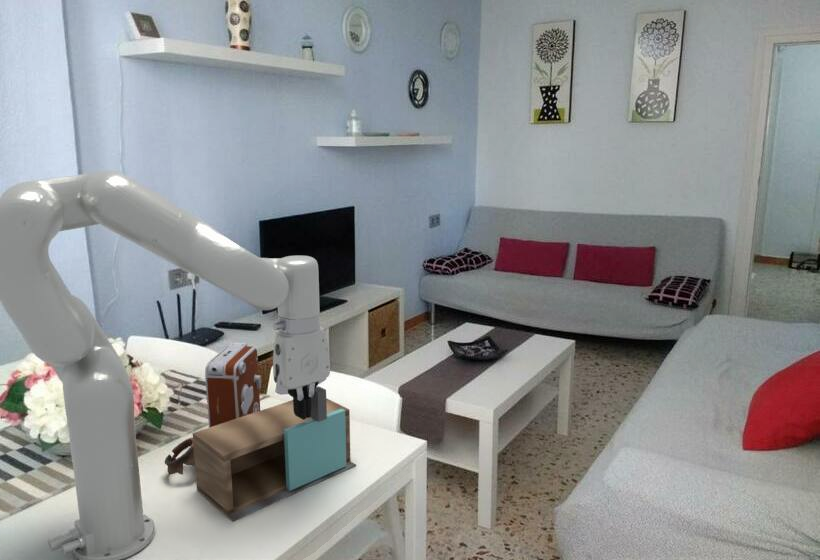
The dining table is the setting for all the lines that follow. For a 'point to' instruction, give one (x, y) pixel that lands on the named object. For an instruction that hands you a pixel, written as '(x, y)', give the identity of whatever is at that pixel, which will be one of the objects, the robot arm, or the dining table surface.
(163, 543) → the dining table surface
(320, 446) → the door
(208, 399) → the cine camera
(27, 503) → the dining table surface
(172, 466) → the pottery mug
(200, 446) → the cabinet
